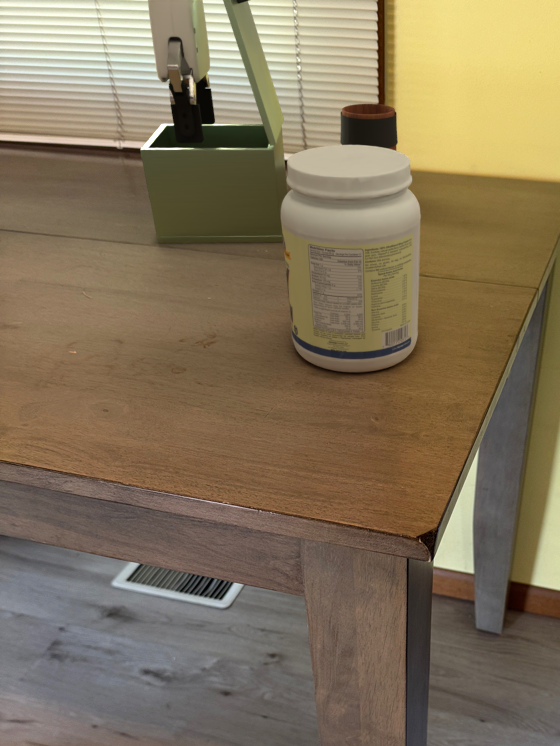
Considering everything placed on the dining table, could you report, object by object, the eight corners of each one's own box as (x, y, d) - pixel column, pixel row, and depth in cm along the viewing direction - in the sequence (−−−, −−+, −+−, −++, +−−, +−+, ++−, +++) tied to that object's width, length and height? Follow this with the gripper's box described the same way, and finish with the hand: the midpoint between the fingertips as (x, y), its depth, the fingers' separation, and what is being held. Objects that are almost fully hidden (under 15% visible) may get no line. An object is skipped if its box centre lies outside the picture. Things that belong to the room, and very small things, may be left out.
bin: (158, 243, 95) (139, 149, 88) (177, 210, 106) (161, 123, 99) (282, 242, 96) (273, 149, 89) (288, 209, 106) (281, 123, 100)
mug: (384, 183, 117) (384, 97, 110) (406, 205, 108) (407, 114, 101) (330, 186, 115) (326, 99, 108) (347, 210, 106) (344, 117, 99)
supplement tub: (313, 316, 79) (300, 137, 68) (427, 327, 77) (433, 145, 66) (275, 370, 70) (254, 173, 59) (404, 383, 68) (407, 184, 57)
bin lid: (215, -22, 78) (264, -38, 78) (231, -31, 89) (274, -45, 88) (269, 146, 89) (313, 133, 88) (278, 120, 99) (317, 109, 99)
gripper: (152, -46, 89) (178, 117, 100) (118, -38, 76) (152, 149, 87) (217, -45, 89) (235, 118, 100) (194, -36, 76) (218, 150, 87)
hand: (196, 132), depth 94 cm, fingers open, 9 cm apart
